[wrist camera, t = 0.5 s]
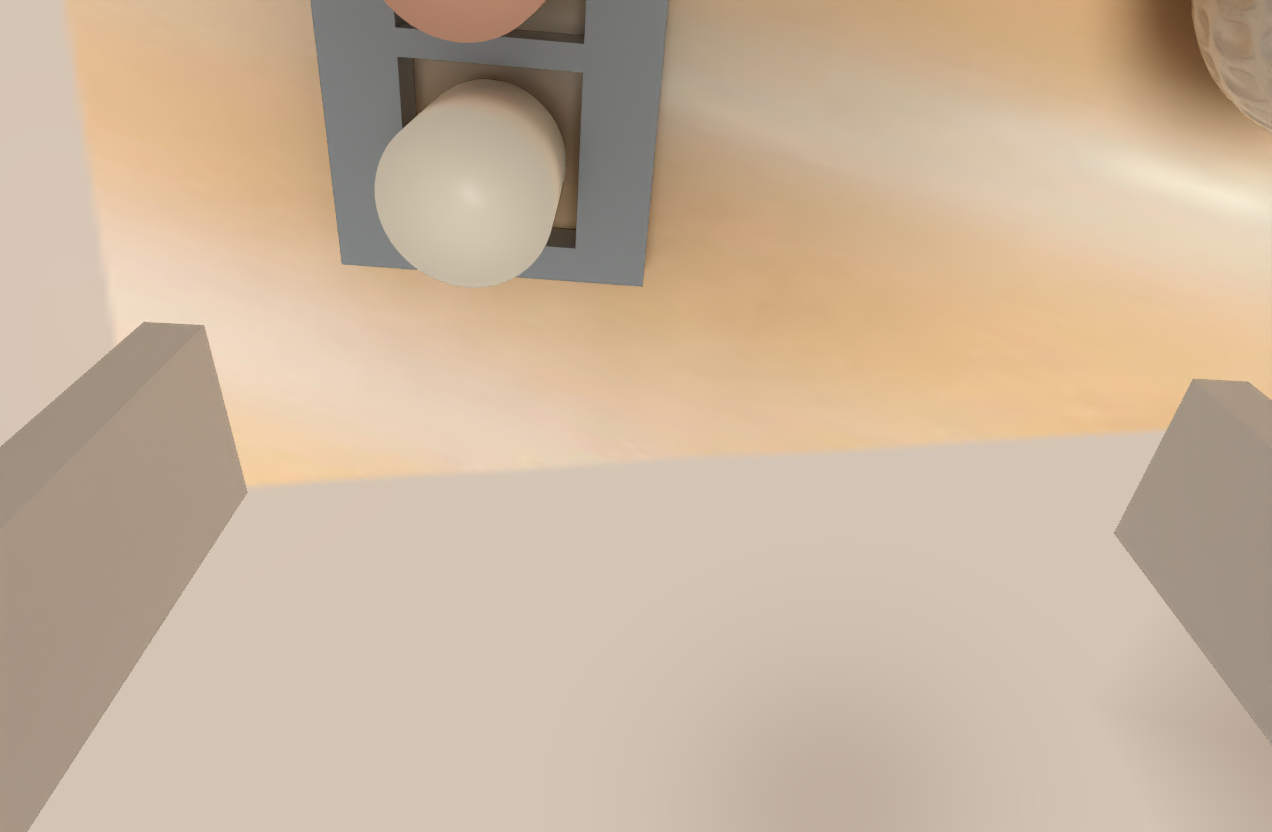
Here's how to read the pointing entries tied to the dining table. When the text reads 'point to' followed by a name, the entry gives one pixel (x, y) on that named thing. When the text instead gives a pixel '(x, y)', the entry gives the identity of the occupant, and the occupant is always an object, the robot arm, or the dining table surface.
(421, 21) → the pink cylinder
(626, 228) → the board
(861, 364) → the dining table surface
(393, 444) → the dining table surface
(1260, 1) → the vase
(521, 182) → the cream cylinder
